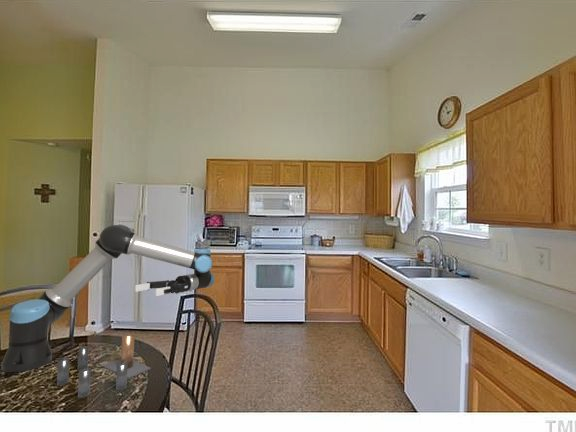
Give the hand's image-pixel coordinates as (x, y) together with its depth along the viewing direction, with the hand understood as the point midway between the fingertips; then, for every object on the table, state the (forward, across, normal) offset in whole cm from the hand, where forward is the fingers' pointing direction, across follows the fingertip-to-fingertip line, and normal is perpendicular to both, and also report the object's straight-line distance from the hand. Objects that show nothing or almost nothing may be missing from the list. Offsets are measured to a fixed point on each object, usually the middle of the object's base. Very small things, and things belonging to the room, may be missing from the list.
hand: (145, 290), depth 128 cm
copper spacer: (+8, -2, -27) cm, 29 cm away
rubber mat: (+8, -2, -28) cm, 29 cm away
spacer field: (+22, -2, -28) cm, 36 cm away
